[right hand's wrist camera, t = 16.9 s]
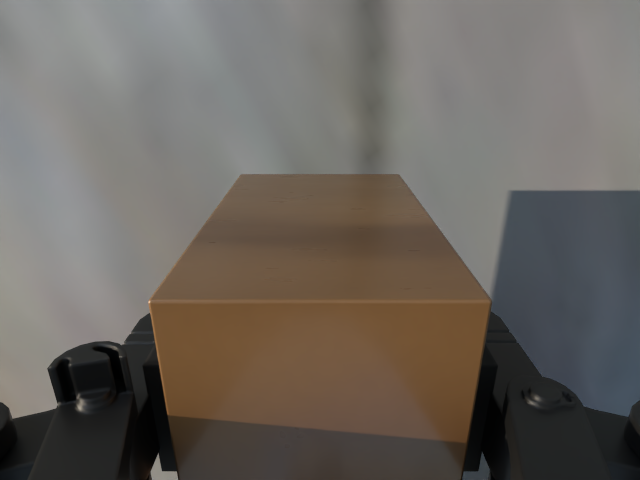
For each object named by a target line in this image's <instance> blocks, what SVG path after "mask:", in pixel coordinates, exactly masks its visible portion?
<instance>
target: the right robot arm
mask: <svg viewBox="0 0 640 480" xmlns="http://www.w3.org/2000/svg"><path fill="white" fill-rule="evenodd" d="M47 369H48V372H49V376H50V379H51V383H52V386H53V389H54V393H55V396H56V400H57V403H58V406H57V408H56V409H53V410H49V411H46V412H41V413H37V414H32V415H28V416H23V417H19V418H14V419H12V416H11V413H10V410H9V408H8V407H7V406H6V405H4V404H3V403H1V402H0V480H152V477H151V472H150V471H151V469H152V467H153V464H154V462H155V459H156V457H157V455H158V452H159V457H160V463H161V468H162V471H177V469H176V463H175V457H174V451H173V445H172V439H171V433H170V427H169V421H168V415H167V409H166V403H165V397H164V391H163V386H162V380H161V374H160V368H159V362H158V356H157V350H156V344H155V338H154V332H153V326H152V320H151V314H150V313H149V314H147V315H146V316H144V317H143V318H142V319H140V320H139V322H138V323H137V325H136V326H135V327H134V329H133V330H132V332H131V334H130V335H129V336H128V337H127V339H126V340H125V342H124V345H122V346H121V345H120V344H118V343H114V342H110V341H102V342H92V343H88V344H84V345H80V346H78V347H75V348H73V349H71V350H68V351H66V352H65V353H63V354H62V355H60V356H59V357H57V358H56V359H55V360H54V361H53V362H52V363H51V365H50V366H49V367H48V368H47ZM482 452H483V454H484V457H485V459H486V461H487V464H488V466H489V468H490V472H489V477H488V480H640V401H638V402H637V403H636V404H634V405H633V406H632V409H631V411H630V414H629V417H625V416H621V415H616V414H612V413H607V412H603V411H598V410H594V409H590V408H587V407H583V405H582V403H581V402H580V400H579V399H578V397H577V396H576V394H574V393H573V392H572V391H571V390H569V389H568V388H567V387H566V386H564V385H562V384H560V383H558V382H556V381H554V380H552V379H549V378H545V377H542V376H541V374H540V373H539V372H538V370H537V369H536V367H535V366H534V365H533V363H532V362H531V360H530V359H529V358H528V356H527V355H526V353H525V352H524V351H523V349H522V348H521V346H520V345H519V344H518V343H516V339H515V338H514V336H513V335H512V334H511V333H509V329H508V328H507V327H506V325H505V324H504V322H503V321H502V320H501V318H499V317H498V316H497V315H495V314H494V313H492V312H491V311H490V317H489V323H488V329H487V335H486V341H485V347H484V353H483V359H482V364H481V370H480V376H479V382H478V388H477V394H476V400H475V406H474V412H473V417H472V423H471V429H470V435H469V441H468V447H467V453H466V459H465V465H464V470H463V471H478V470H479V464H480V459H481V454H482Z"/></svg>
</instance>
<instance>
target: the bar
mask: <svg viewBox="0 0 640 480" xmlns="http://www.w3.org/2000/svg"><path fill="white" fill-rule="evenodd" d="M491 306H492V301H491V299H490V297H489V296H488V295H487V293H486V292H485V290H484V289H483V288H482V286H481V285H480V284H479V282H478V281H477V280H476V278H475V277H474V276H473V274H472V273H471V271H470V270H469V269H468V267H467V266H466V265H465V263H464V262H463V261H462V259H461V258H460V257H459V255H458V254H457V252H456V251H455V250H454V248H453V247H452V246H451V244H450V243H449V242H448V240H447V239H446V237H445V236H444V235H443V233H442V232H441V231H440V229H439V228H438V227H437V225H436V224H435V223H434V221H433V220H432V218H431V217H430V216H429V214H428V213H427V212H426V210H425V209H424V208H423V206H422V205H421V204H420V202H419V201H418V199H417V198H416V197H415V195H414V194H413V193H412V191H411V190H410V189H409V187H408V186H407V184H406V183H405V182H404V180H403V179H402V178H401V176H400V175H398V174H242V175H240V176H239V178H238V179H237V181H236V182H235V183H234V185H233V186H232V187H231V189H230V190H229V191H228V193H227V194H226V196H225V197H224V198H223V200H222V201H221V202H220V204H219V205H218V206H217V208H216V209H215V211H214V212H213V213H212V215H211V216H210V217H209V219H208V220H207V221H206V223H205V224H204V226H203V227H202V228H201V230H200V231H199V232H198V234H197V235H196V236H195V238H194V239H193V241H192V242H191V243H190V245H189V246H188V247H187V249H186V250H185V252H184V253H183V254H182V256H181V257H180V258H179V260H178V261H177V262H176V264H175V265H174V267H173V268H172V269H171V271H170V272H169V273H168V275H167V276H166V277H165V279H164V280H163V282H162V283H161V284H160V286H159V287H158V288H157V290H156V291H155V292H154V294H153V295H152V297H151V298H150V299H149V309H150V314H151V320H152V326H153V332H154V338H155V344H156V350H157V356H158V362H159V368H160V374H161V380H162V386H163V391H164V397H165V403H166V409H167V415H168V421H169V427H170V433H171V439H172V445H173V451H174V457H175V463H176V469H177V474H178V480H462V476H463V470H464V465H465V459H466V453H467V447H468V441H469V435H470V429H471V423H472V417H473V412H474V406H475V400H476V394H477V388H478V382H479V376H480V370H481V364H482V359H483V353H484V347H485V341H486V335H487V329H488V323H489V317H490V311H491Z"/></svg>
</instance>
